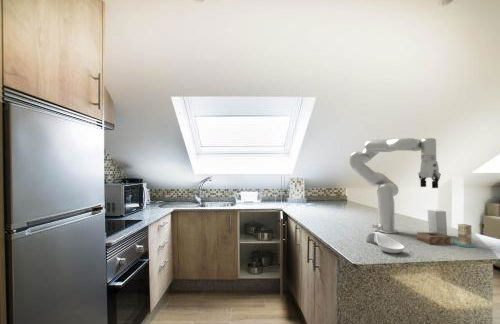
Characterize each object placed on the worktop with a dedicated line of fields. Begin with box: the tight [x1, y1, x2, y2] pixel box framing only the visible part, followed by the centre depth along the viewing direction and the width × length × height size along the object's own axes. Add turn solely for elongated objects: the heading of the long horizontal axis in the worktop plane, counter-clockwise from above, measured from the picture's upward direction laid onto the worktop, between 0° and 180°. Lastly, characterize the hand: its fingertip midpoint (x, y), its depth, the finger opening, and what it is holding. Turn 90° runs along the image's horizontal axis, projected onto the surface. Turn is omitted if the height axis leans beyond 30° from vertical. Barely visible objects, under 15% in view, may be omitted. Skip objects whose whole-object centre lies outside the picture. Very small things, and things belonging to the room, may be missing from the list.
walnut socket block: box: [416, 231, 452, 245], centre depth 148 cm, size 12×10×4 cm
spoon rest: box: [365, 231, 405, 254], centre depth 137 cm, size 24×12×7 cm, turn 9°
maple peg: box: [457, 223, 472, 244], centre depth 142 cm, size 4×4×10 cm
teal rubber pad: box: [453, 240, 476, 249], centre depth 142 cm, size 9×9×1 cm
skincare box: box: [427, 209, 448, 236], centre depth 163 cm, size 8×7×16 cm
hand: (429, 187), depth 156 cm, fingers open, 9 cm apart
